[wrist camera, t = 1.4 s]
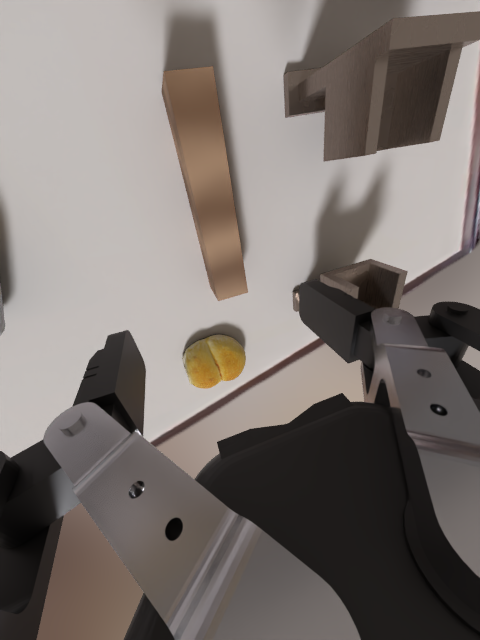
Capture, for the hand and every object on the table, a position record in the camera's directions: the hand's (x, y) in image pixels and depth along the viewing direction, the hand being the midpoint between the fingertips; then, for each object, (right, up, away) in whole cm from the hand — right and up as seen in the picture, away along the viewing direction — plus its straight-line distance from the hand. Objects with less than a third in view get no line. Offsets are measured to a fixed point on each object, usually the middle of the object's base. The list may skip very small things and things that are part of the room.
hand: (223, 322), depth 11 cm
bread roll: (-3, -5, +24) cm, 25 cm away
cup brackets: (+11, +13, +18) cm, 25 cm away
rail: (-3, +12, +14) cm, 19 cm away
